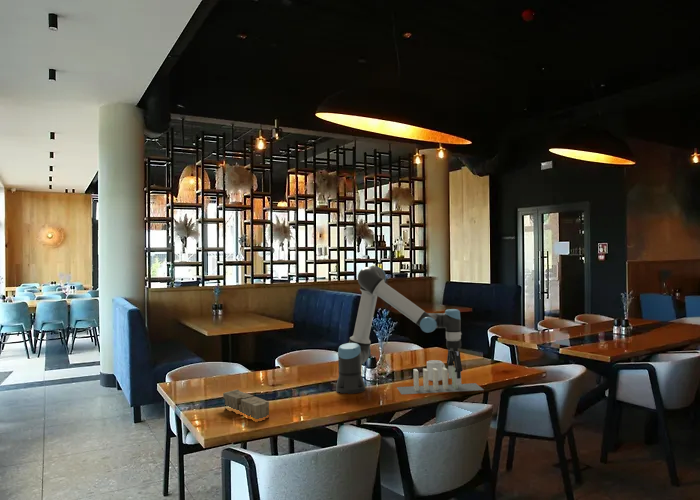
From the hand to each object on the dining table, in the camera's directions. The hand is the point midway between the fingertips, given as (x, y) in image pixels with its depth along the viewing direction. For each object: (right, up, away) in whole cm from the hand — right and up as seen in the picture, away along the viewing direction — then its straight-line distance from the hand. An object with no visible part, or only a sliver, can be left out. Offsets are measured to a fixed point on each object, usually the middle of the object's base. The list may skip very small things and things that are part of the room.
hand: (454, 381), depth 274 cm
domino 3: (-10, -4, -1) cm, 11 cm away
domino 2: (-15, -4, -1) cm, 15 cm away
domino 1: (-20, -4, -2) cm, 20 cm away
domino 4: (-5, -3, 0) cm, 6 cm away
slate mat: (-8, -4, -1) cm, 9 cm away
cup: (-6, -4, +21) cm, 22 cm away
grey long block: (-100, -7, -32) cm, 105 cm away
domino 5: (0, -3, 0) cm, 3 cm away
